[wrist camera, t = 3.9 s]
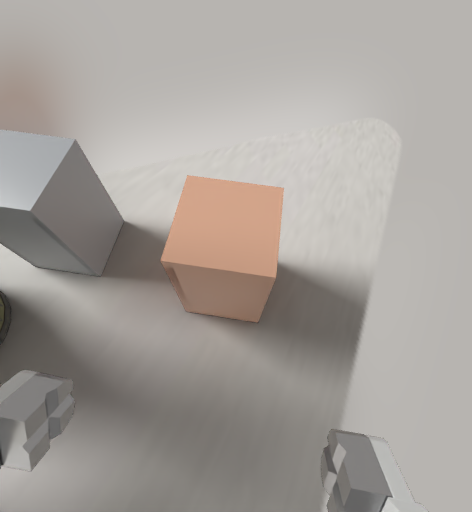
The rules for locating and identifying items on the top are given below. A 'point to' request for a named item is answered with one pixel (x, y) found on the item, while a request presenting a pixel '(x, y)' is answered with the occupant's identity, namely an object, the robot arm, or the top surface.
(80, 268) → the light gray boxy block
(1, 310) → the thermos
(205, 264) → the tan block
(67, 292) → the top surface
